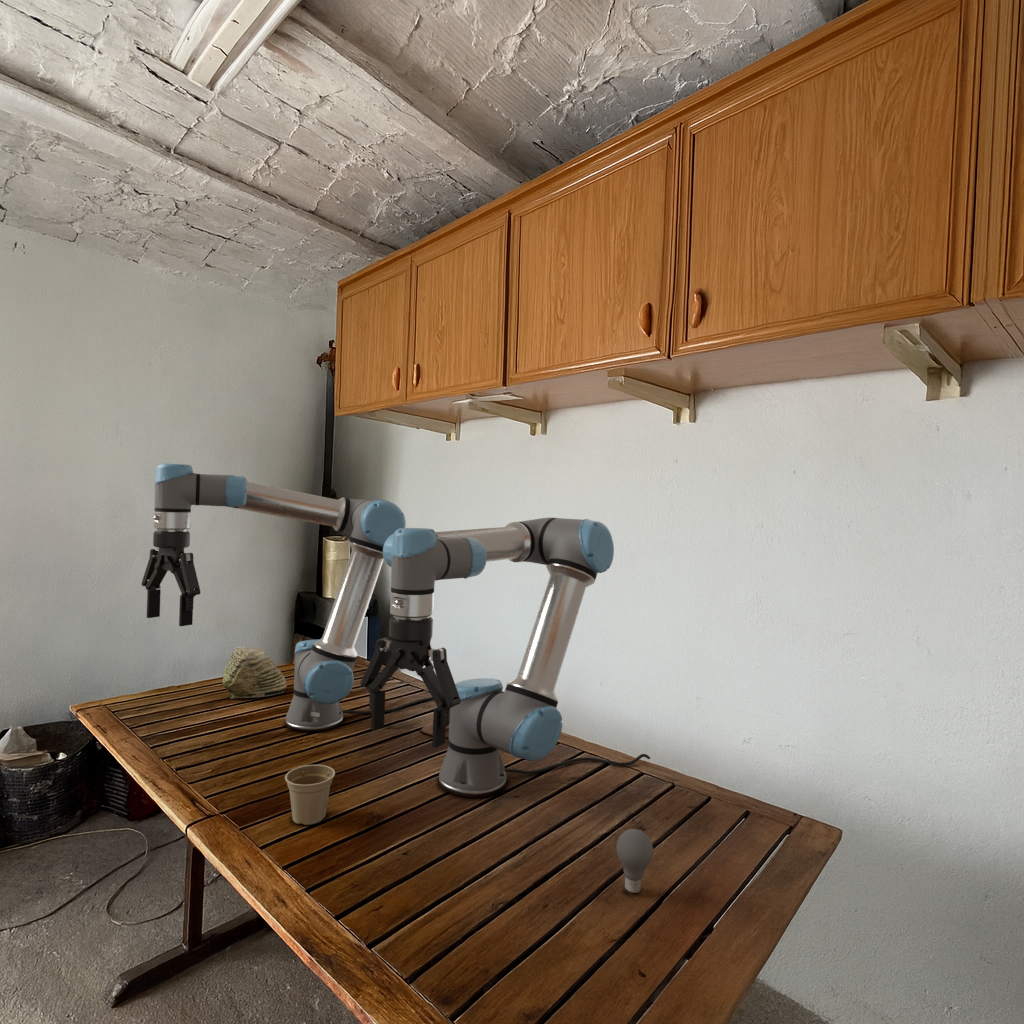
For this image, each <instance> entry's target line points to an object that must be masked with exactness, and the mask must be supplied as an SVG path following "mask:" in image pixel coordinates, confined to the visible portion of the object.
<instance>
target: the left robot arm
mask: <svg viewBox="0 0 1024 1024" xmlns="http://www.w3.org/2000/svg"><path fill="white" fill-rule="evenodd" d="M192 506H209V507H227V508H230V509H231V508H232V509H238V510H243V511H249V512H254V513H258V514H259V513H260V514H264V515H270V516H275V517H279V518H281V517H282V518H284V519H285V518H286V519H291V520H295V521H301V522H306V523H312V524H317V525H322V526H328V527H332V528H333V529H334V530H335V532H339V533H340V532H341V533H345V534H348V535H350V537H349V540H348V544H349V546H350V549H351V553H350V555H349V558H348V561H347V564H346V567H345V570H344V573H343V576H342V579H341V582H340V585H339V587H338V589H337V593H336V595H335V599H334V602H333V605H332V608H331V610H330V614H329V616H328V620H327V622H326V625H325V628H324V631H323V634H322V637H321V638H320V639H307V640H301V641H299V642H297V643H296V644H295V648H294V649H295V650H294V672H293V673H294V674H293V675H294V676H293V695H292V696H293V697H292V699H291V702H290V704H289V708H288V711H287V713H286V715H285V726H286V728H287V729H289V730H291V731H294V732H295V731H296V732H301V733H316V732H325V731H329V730H332V729H335V728H337V727H339V726H340V725H342V723H343V722H344V714H353V715H371V711H372V710H352V709H350V710H349V709H346V710H345V709H342V706H341V701H343V700H344V699H345V698H346V697H348V695H349V694H350V693H351V691H352V689H353V686H354V681H355V680H354V679H355V677H354V672H353V671H354V667H355V664H356V661H357V658H358V653H357V650H356V648H355V646H356V643H357V640H358V637H359V634H360V632H361V628H362V626H363V622H364V620H365V616H366V613H367V612H368V611H367V610H368V608H369V604H370V602H371V599H372V596H373V593H374V590H375V587H376V584H377V581H378V578H379V575H380V572H381V569H382V566H383V563H384V561H385V560H384V557H383V546H384V543H385V541H386V540H387V538H388V537H389V536H391V535H392V534H394V532H395V531H396V530H397V529H399V528H407V521H406V516H405V513H404V512H403V511H402V509H401V508H400V507H399V506H398V505H397V504H396V503H394V502H391V501H389V500H385V499H371V498H370V499H359V498H357V499H356V498H349V497H348V498H347V497H344V496H343V497H341V498H339V499H336V498H331V497H326V496H321V495H318V494H317V495H316V494H311V493H307V492H306V493H305V492H302V491H297V490H291V489H287V488H281V487H276V486H272V485H268V484H262V483H258V482H252V481H247V478H246V477H245V476H242V475H234V474H207V473H197V472H196V473H195V472H194V471H193V466H192V465H190V464H185V463H184V464H183V463H160V464H158V465H157V466H156V468H155V481H154V509H153V510H154V513H153V517H152V519H153V528H154V529H155V531H154V532H153V534H152V535H153V536H152V537H153V538H152V546H153V547H154V548H151V549H149V558H148V562H147V564H146V568H145V571H144V573H143V577H142V580H141V587H145V590H146V591H147V592H146V594H147V595H146V619H153V618H160V617H161V593H162V591H161V584H162V582H163V581H164V579H165V576H166V575H167V573H168V572H170V573H171V574H173V576H174V578H175V581H176V584H177V586H178V589H179V591H180V593H181V594H180V595H179V610H178V611H179V613H178V614H179V616H178V627H186V626H187V627H188V626H192V625H193V620H194V619H193V616H194V601H195V600H194V598H195V597H196V596H197V595H201V588H200V584H199V579H198V576H197V575H198V574H197V571H196V567H195V563H194V562H195V561H194V553H193V552H185V549H186V548H189V547H190V545H191V542H190V541H191V533H190V531H188V530H190V529H191V528H192V527H191V525H192V522H191V519H192ZM432 700H434V699H433V698H432V696H428V697H423V698H419V699H416V700H413V701H410V702H407V703H403V704H401V705H398V706H395V707H392V708H385V714H387V713H390V712H394V711H398V710H400V709H404V708H406V707H409V706H413V705H415V704H418V703H422V702H427V701H432Z"/></svg>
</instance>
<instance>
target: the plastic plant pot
mask: <svg viewBox="0 0 1024 1024" xmlns="http://www.w3.org/2000/svg"><path fill="white" fill-rule="evenodd" d="M335 776H336V772H335V769H334V768H333V767H332V766H328V765H323V764H307V765H306V764H305V765H301V766H298V767H295V768H293V769H291V770H289V771H287V773H286V774H285V775H284V780H285V782H286V783H287V784H286V785H287V788H288V790H289V791H288V792H289V799H290V806H291V807H290V808H291V809H290V810H291V815H292V816H291V817H292V821H293V823H295V824H297V825H300V824H302V825H304V826H310V825H314V824H318V823H320V822H321V821H322V820H323V819H324V818H325V817H326V815H327V808H328V802H329V795H330V789H331V785H332V784H333V779H334V777H335Z"/></svg>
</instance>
